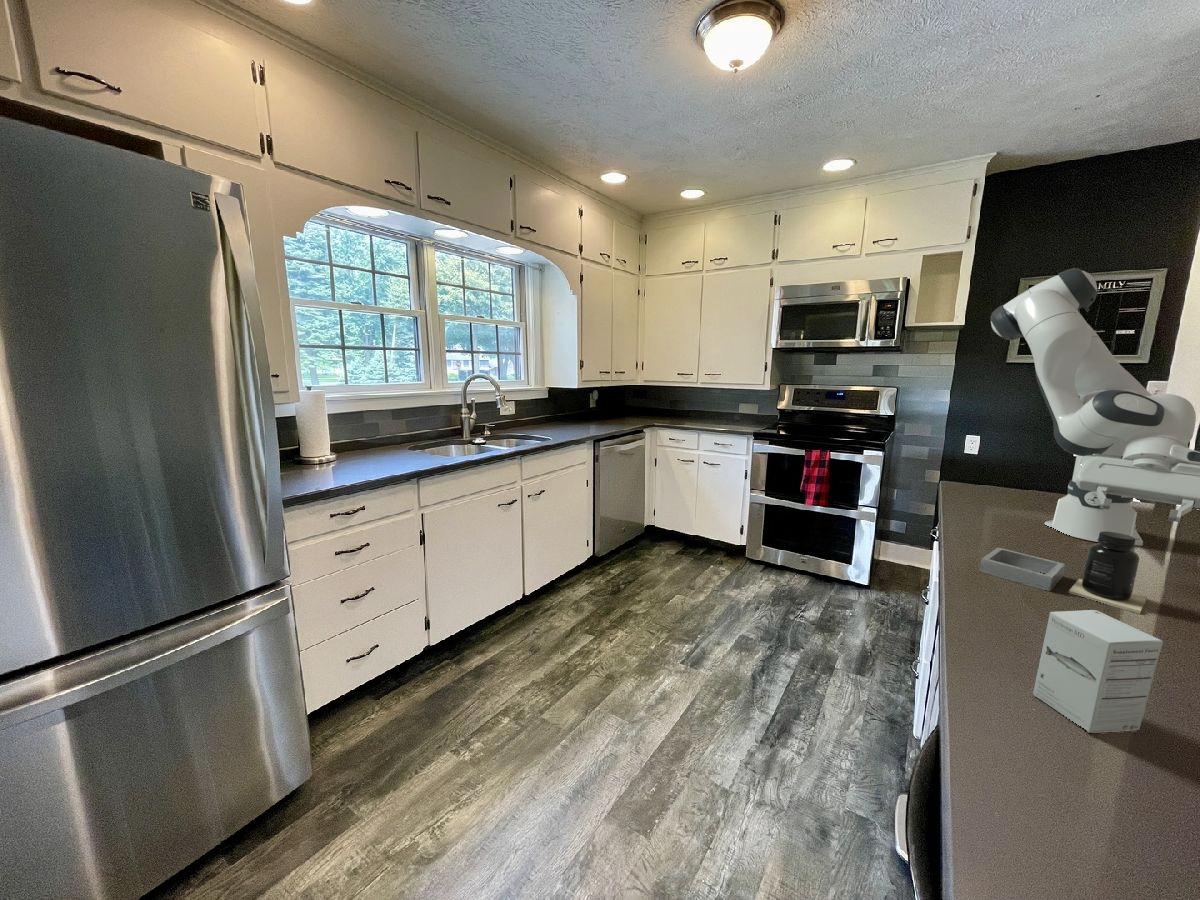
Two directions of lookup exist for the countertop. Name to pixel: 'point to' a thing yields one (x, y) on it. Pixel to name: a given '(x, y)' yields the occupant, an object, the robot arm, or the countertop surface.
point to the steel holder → (1022, 568)
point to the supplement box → (1096, 670)
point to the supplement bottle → (1111, 566)
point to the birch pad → (1131, 604)
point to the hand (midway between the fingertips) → (1137, 513)
